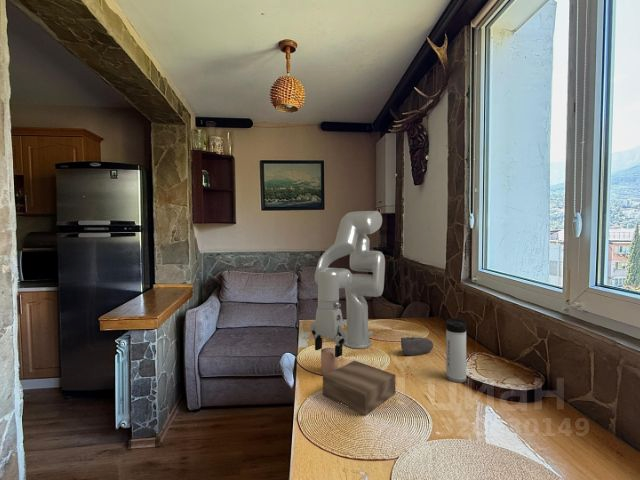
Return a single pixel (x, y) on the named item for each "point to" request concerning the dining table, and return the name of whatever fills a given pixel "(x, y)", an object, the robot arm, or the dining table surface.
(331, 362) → the terracotta canister
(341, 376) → the walnut riser block
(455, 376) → the travel mug
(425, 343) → the dark grey rounded block
